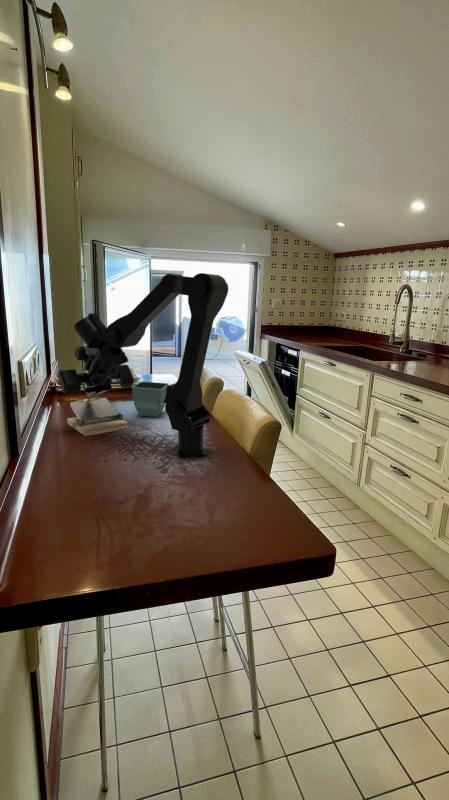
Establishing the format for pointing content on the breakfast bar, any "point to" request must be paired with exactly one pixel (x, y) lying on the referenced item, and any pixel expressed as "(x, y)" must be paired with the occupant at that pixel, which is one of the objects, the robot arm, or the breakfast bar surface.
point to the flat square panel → (94, 410)
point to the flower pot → (149, 398)
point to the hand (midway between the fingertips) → (88, 396)
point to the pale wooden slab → (98, 425)
